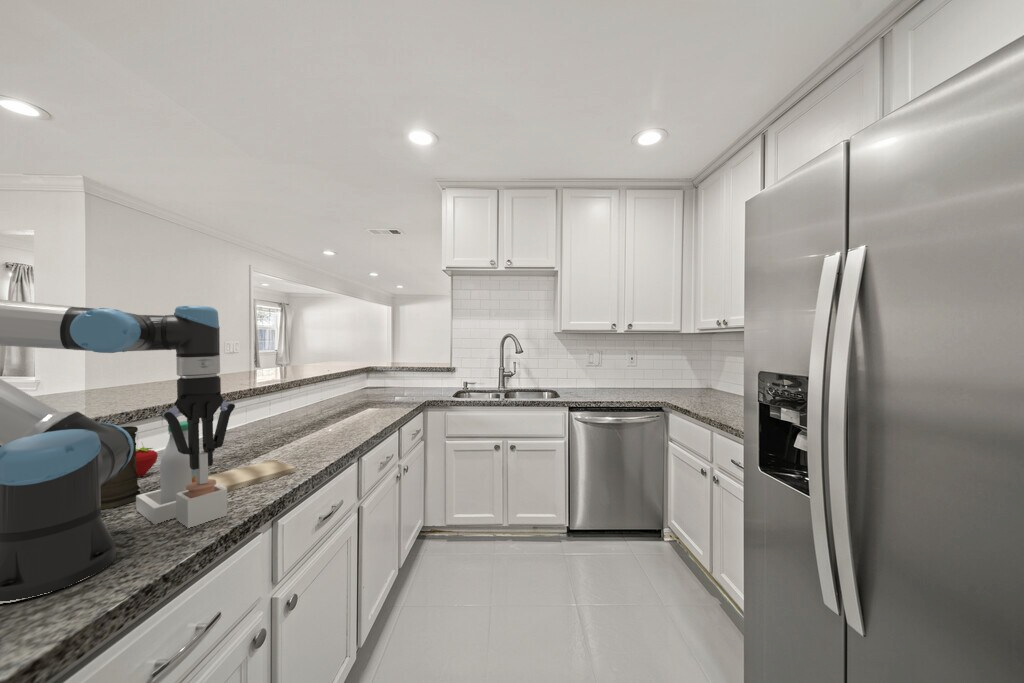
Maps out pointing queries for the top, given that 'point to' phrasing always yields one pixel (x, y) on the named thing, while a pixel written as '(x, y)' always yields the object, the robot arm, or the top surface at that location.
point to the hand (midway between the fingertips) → (202, 482)
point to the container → (122, 481)
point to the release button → (200, 488)
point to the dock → (184, 507)
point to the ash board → (252, 474)
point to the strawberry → (145, 460)
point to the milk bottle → (175, 469)
